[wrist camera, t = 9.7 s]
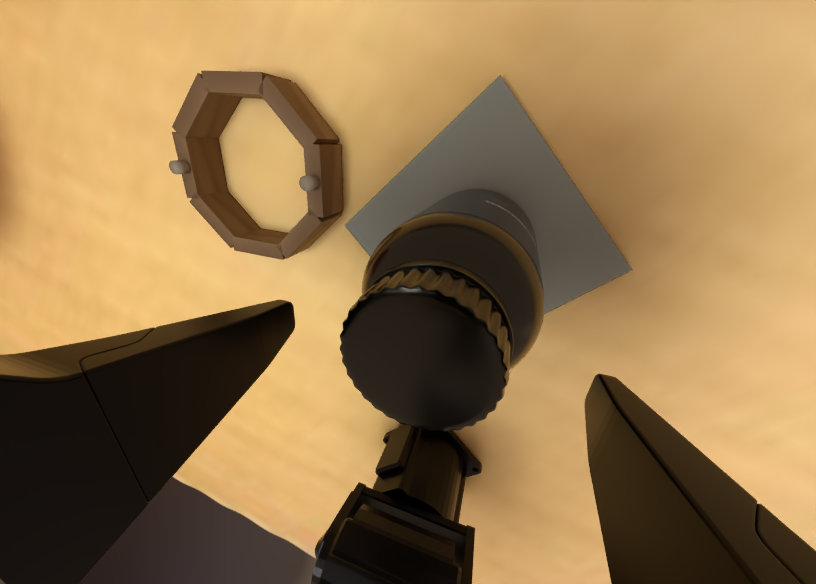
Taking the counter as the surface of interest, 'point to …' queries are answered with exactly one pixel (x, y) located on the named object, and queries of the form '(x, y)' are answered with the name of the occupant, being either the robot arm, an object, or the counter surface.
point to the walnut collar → (205, 172)
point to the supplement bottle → (446, 312)
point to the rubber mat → (511, 176)
